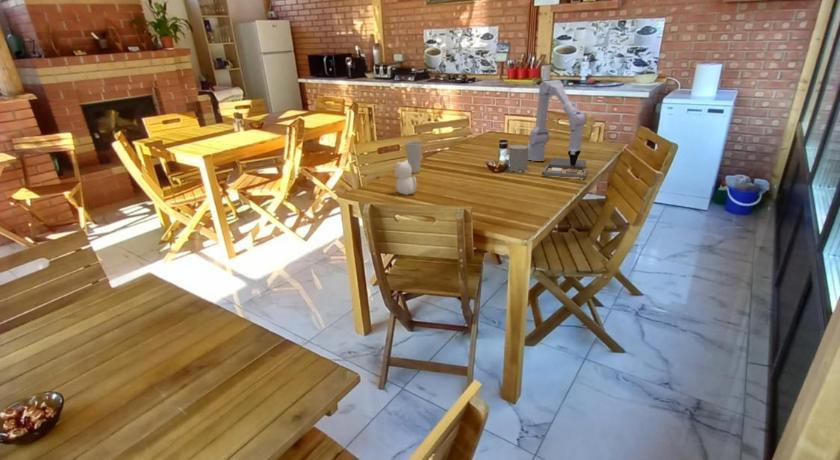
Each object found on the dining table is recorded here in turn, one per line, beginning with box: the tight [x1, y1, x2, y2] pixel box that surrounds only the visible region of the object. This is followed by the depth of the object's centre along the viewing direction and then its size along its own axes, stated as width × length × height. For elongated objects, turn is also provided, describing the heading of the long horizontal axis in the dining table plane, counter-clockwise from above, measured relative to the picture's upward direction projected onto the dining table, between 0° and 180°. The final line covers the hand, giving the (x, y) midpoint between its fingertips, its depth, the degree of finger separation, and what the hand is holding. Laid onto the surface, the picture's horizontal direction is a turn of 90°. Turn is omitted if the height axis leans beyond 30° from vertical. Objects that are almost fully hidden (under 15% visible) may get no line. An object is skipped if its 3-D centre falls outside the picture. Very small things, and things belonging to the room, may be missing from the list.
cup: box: [405, 140, 422, 174], centre depth 236 cm, size 8×8×16 cm
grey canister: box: [508, 144, 528, 173], centre depth 234 cm, size 10×10×12 cm
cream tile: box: [551, 168, 563, 173], centre depth 227 cm, size 5×5×2 cm
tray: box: [541, 164, 588, 178], centre depth 226 cm, size 20×13×2 cm, turn 66°
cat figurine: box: [394, 159, 418, 196], centre depth 205 cm, size 9×12×15 cm
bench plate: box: [548, 157, 587, 170], centre depth 237 cm, size 17×14×3 cm
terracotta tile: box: [566, 169, 578, 174], centre depth 225 cm, size 5×5×2 cm
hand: (572, 165), depth 228 cm, fingers closed
